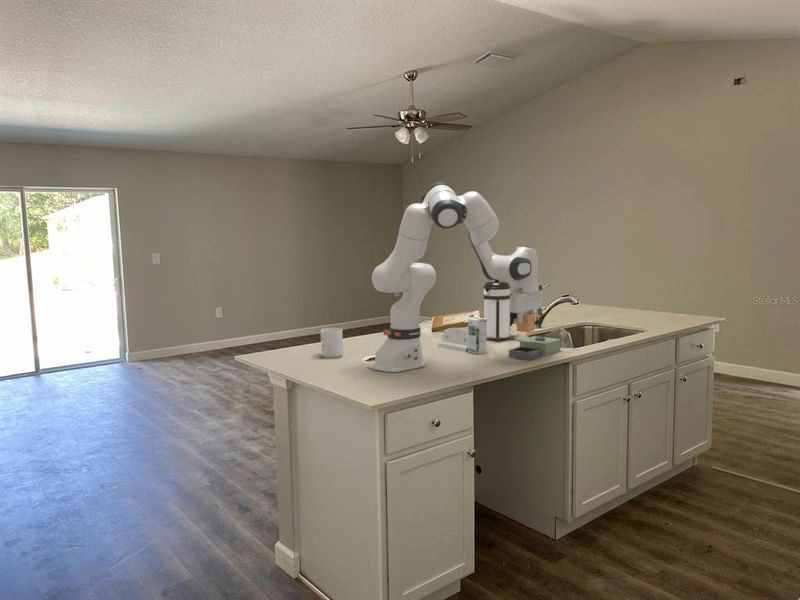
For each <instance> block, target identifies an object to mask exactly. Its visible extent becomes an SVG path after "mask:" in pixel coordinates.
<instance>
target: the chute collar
mask: <svg viewBox="0 0 800 600" xmlns="http://www.w3.org/2000/svg"><path fill="white" fill-rule="evenodd" d="M540 352H541V349H535V348H528V347H521V346H520V345H519V346H517V347H515V348H511V349H508V358H511V359H517V360H524V361H533V360H534V359H537V358H540V357H541V355H540Z"/></svg>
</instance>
